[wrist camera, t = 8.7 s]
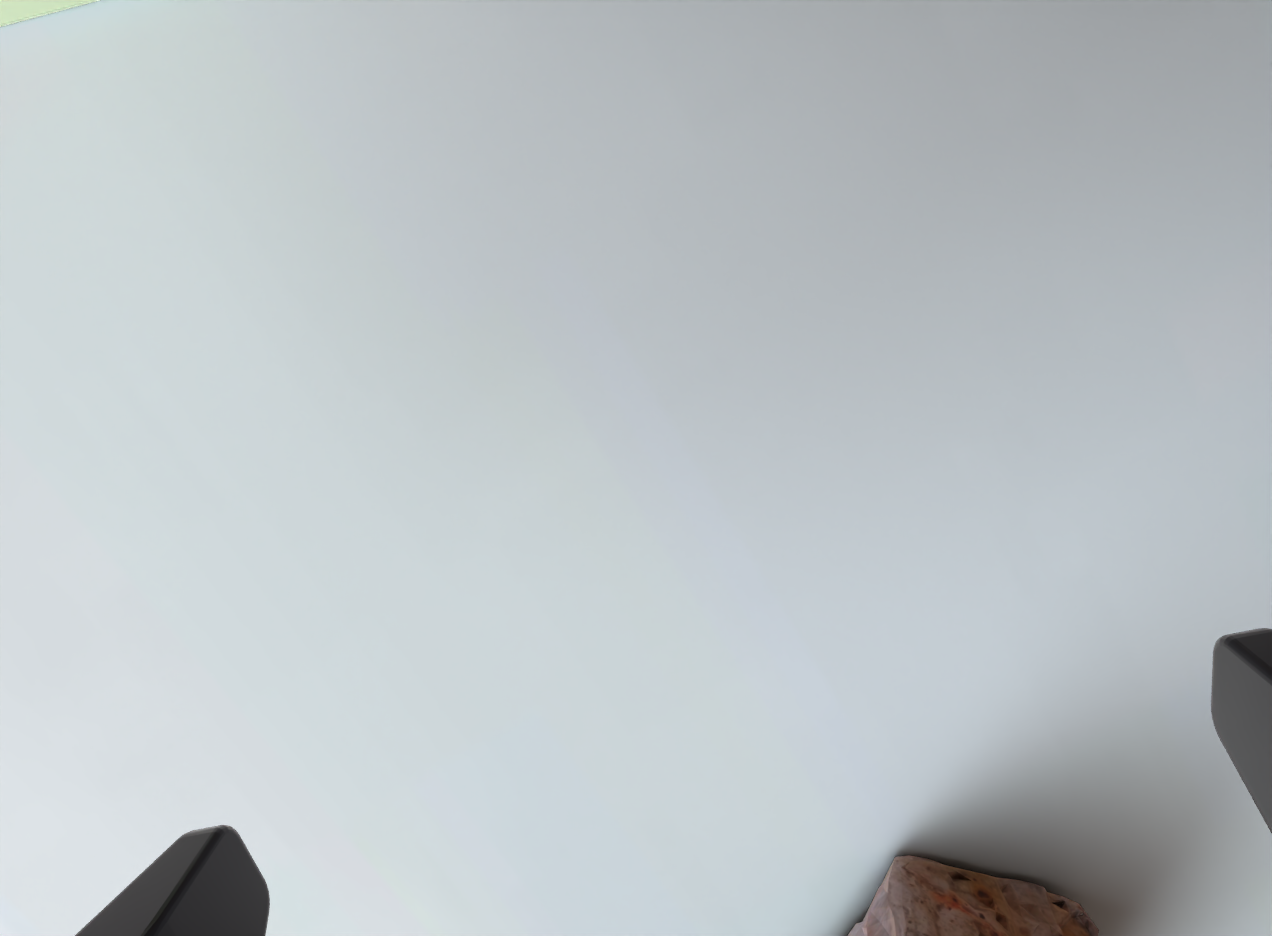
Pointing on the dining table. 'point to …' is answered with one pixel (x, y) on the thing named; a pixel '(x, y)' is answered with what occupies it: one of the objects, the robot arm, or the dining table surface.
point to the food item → (966, 905)
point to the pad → (33, 9)
